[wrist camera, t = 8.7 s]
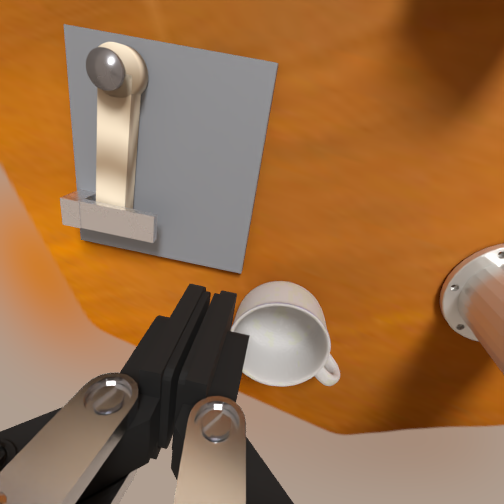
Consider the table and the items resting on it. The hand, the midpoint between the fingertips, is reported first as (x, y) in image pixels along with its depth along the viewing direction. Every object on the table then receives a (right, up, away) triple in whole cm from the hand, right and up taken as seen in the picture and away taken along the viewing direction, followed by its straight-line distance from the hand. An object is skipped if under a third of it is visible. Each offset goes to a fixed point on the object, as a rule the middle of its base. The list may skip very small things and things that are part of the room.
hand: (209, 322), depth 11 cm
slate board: (-8, +12, +23) cm, 27 cm away
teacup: (+6, -5, +30) cm, 31 cm away
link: (-12, +13, +22) cm, 28 cm away
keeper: (-13, +8, +26) cm, 30 cm away
